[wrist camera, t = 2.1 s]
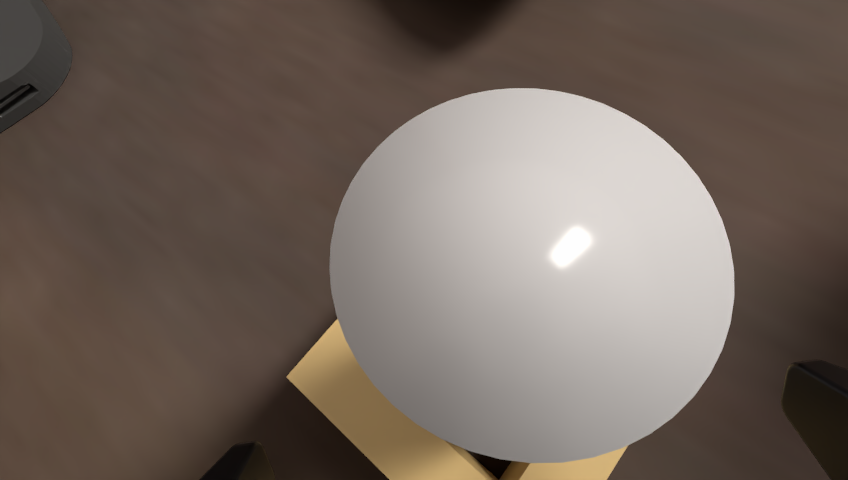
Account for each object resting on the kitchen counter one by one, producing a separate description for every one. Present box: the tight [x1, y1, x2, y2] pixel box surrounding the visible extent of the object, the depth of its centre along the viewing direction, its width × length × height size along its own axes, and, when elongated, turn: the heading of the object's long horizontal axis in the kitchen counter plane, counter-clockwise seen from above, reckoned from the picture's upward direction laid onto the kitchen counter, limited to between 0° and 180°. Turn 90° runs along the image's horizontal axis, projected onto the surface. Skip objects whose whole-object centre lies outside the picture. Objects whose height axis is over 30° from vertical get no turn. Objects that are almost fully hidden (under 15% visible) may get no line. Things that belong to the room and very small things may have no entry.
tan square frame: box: [287, 319, 628, 480], centre depth 15 cm, size 9×9×4 cm
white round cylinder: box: [329, 88, 734, 463], centre depth 11 cm, size 4×4×13 cm
